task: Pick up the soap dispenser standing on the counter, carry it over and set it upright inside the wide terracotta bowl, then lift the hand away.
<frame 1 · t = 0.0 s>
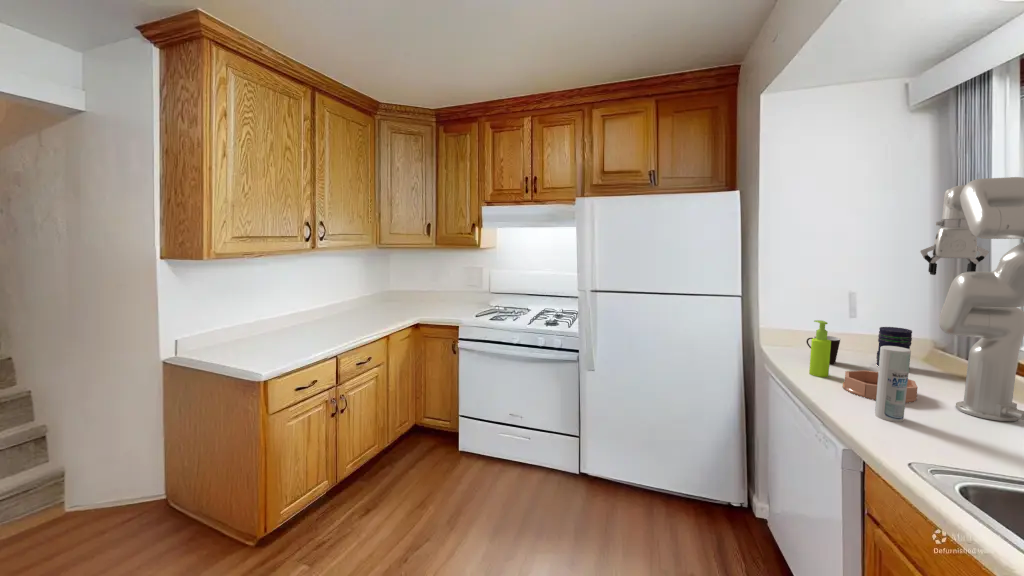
hand: (951, 275, 155), 37 cm above the counter, tool pointing down, fingers open, 9 cm apart
bowl: (878, 392, 148), on the counter
coffee mug: (822, 361, 184), on the counter
spray can: (888, 418, 128), on the counter
soap dispenser: (817, 374, 167), on the counter
storage jar: (891, 367, 175), on the counter
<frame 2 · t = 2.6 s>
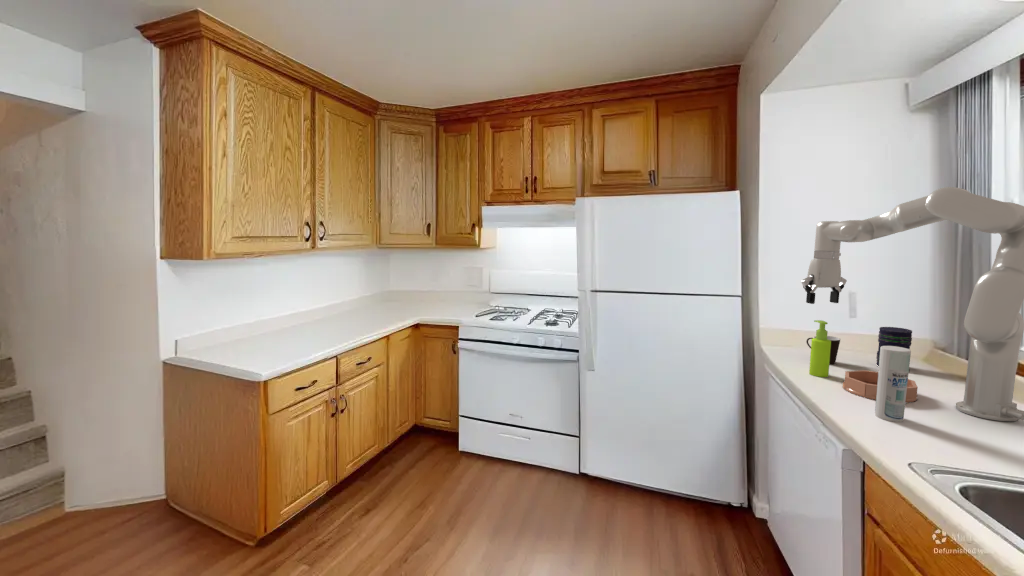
hand: (822, 302, 164), 27 cm above the counter, tool pointing down, fingers open, 9 cm apart
nothing on the counter moved.
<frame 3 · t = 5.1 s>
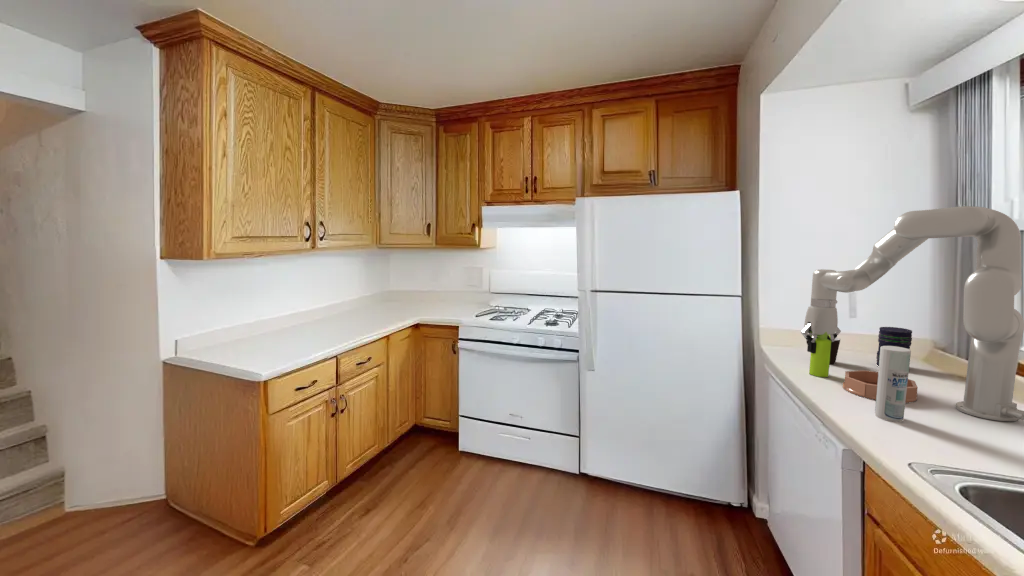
hand: (819, 351, 166), 9 cm above the counter, tool pointing down, fingers closed on soap dispenser, 5 cm apart
soap dispenser: (817, 374, 167), on the counter, touching gripper
everything else where it was.
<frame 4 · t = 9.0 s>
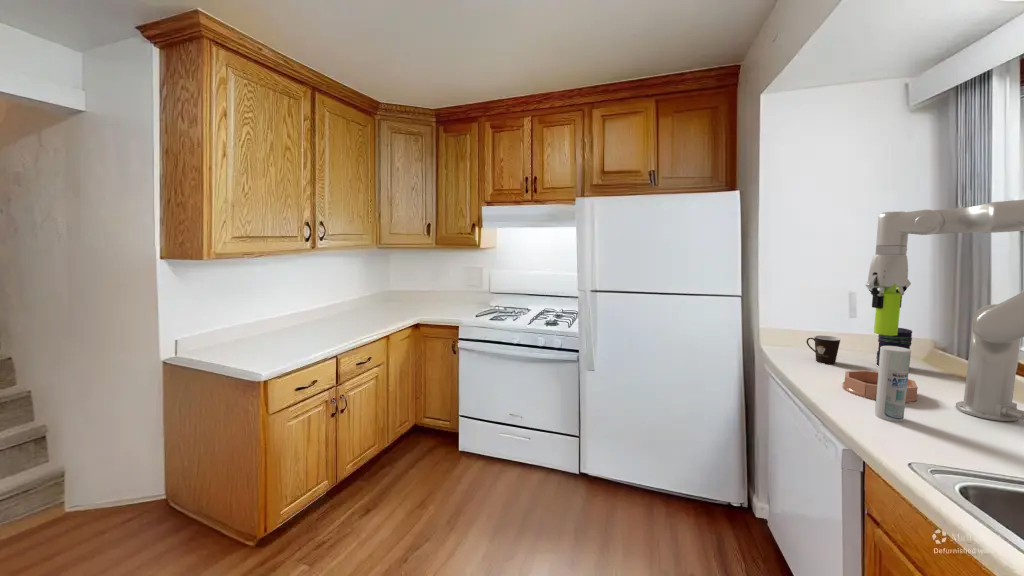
hand: (886, 307, 145), 28 cm above the counter, tool pointing down, fingers closed on soap dispenser, 5 cm apart
soap dispenser: (884, 333, 146), point 20 cm above the counter, touching gripper
everything else where it was.
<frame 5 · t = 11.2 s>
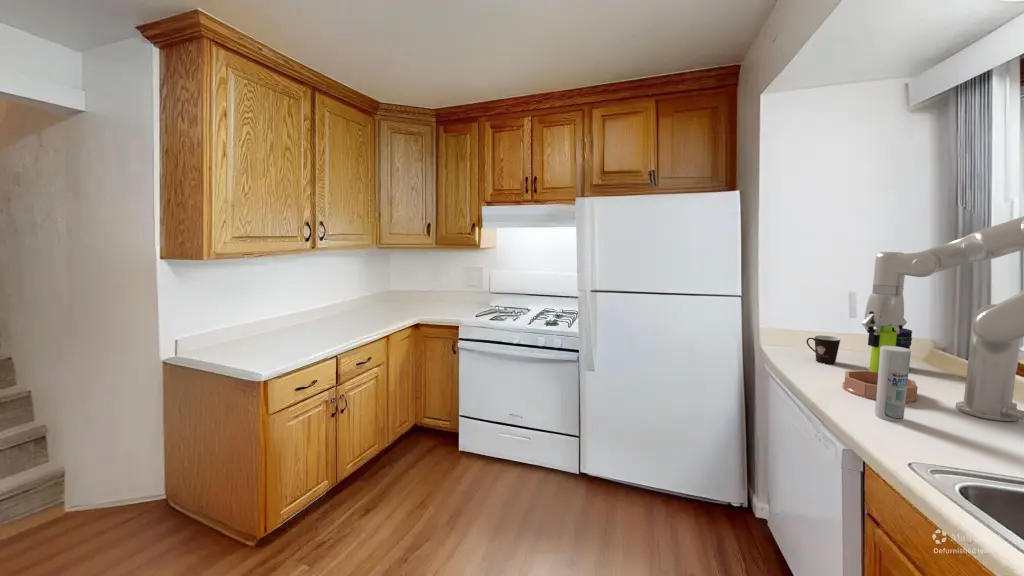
hand: (882, 345, 146), 16 cm above the counter, tool pointing down, fingers closed on soap dispenser, 5 cm apart
soap dispenser: (879, 371, 147), point 7 cm above the counter, touching gripper
everything else where it was.
when the fingers open (11 cm above the counter, at t = 13.1 s): soap dispenser drops 1 cm, resting on bowl.
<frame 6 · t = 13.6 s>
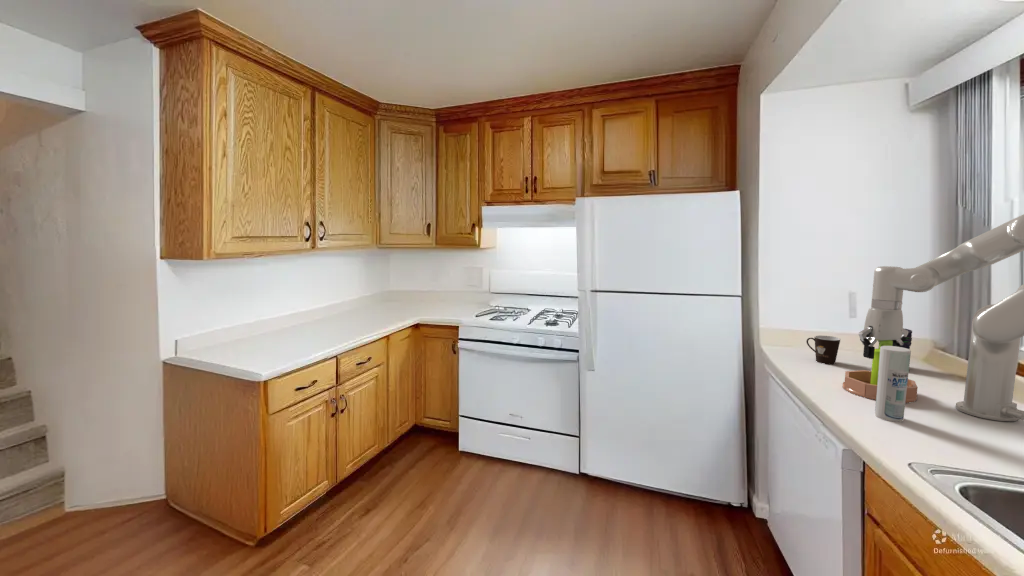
hand: (881, 357, 147), 12 cm above the counter, tool pointing down, fingers open, 9 cm apart
soap dispenser: (880, 389, 148), point 1 cm above the counter, touching bowl
everything else where it was.
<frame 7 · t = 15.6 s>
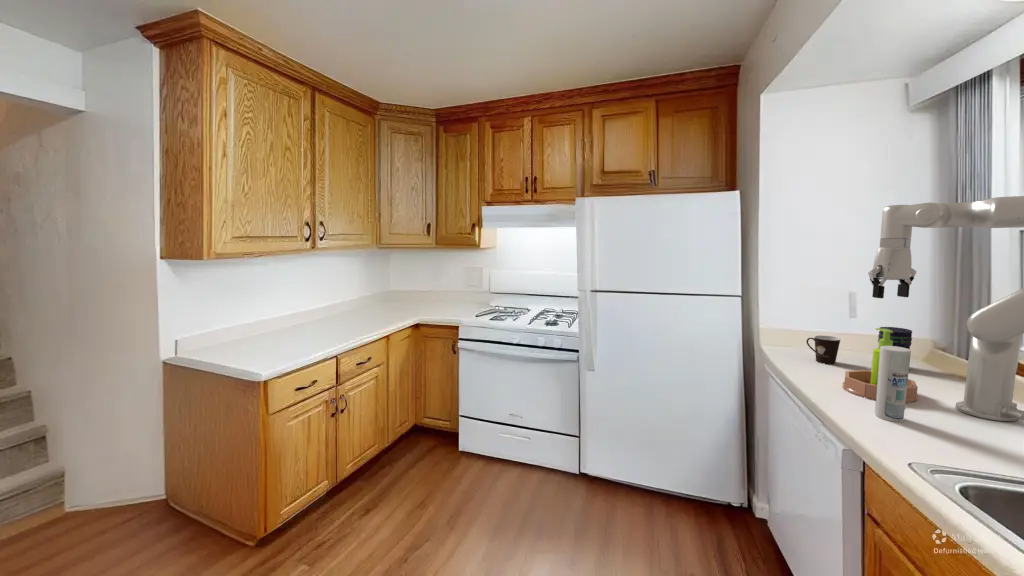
hand: (890, 297, 146), 31 cm above the counter, tool pointing down, fingers open, 9 cm apart
nothing on the counter moved.
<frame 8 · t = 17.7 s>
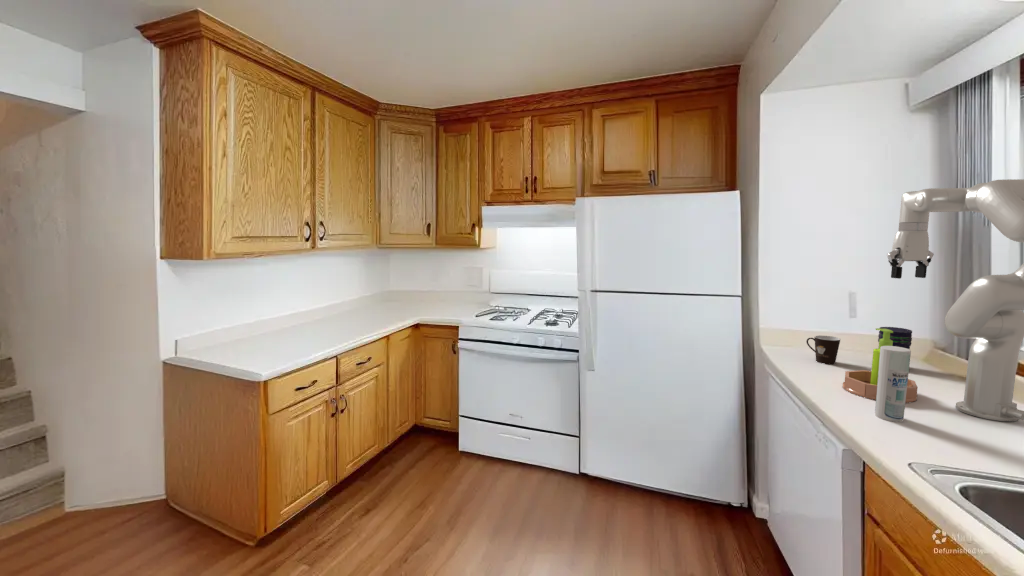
hand: (908, 277, 156), 36 cm above the counter, tool pointing down, fingers open, 9 cm apart
nothing on the counter moved.
at the end: soap dispenser inside the target area on the bowl (0.4 cm from its centre), point 0.8 cm above the bowl's base; soap dispenser tilted 0°; the gripper is holding nothing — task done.
